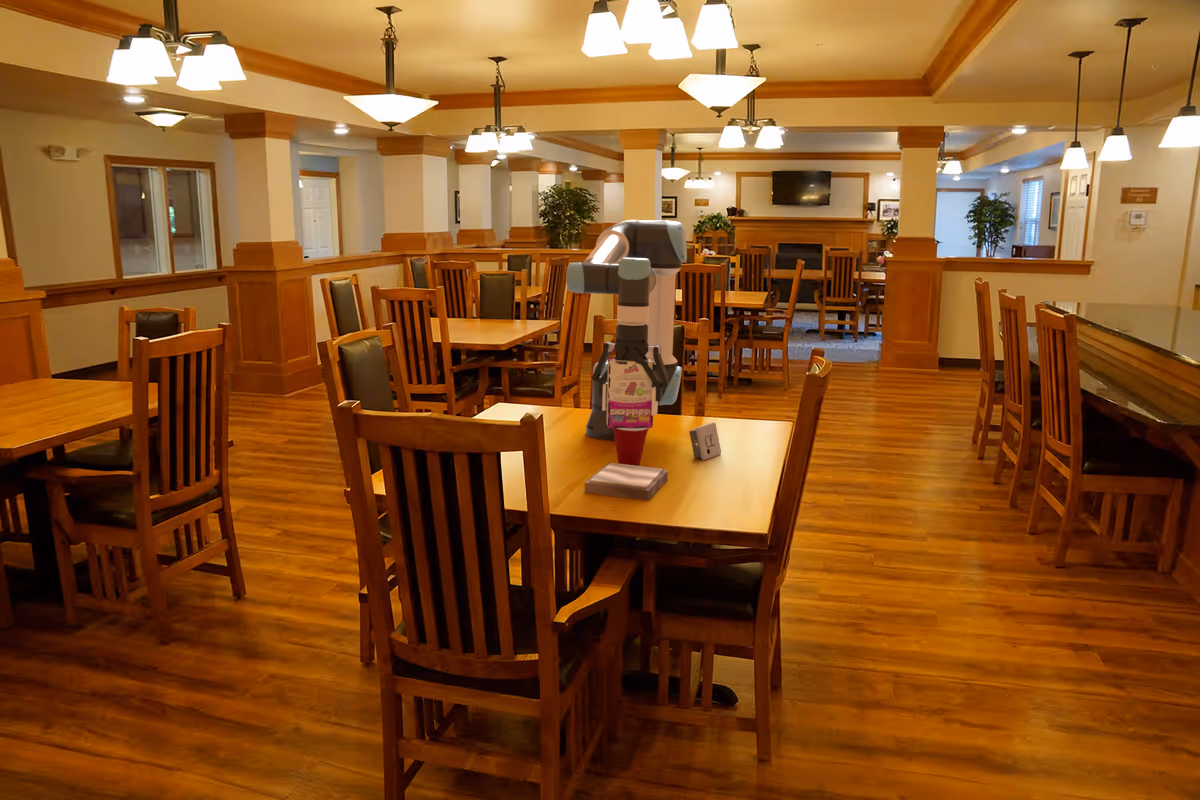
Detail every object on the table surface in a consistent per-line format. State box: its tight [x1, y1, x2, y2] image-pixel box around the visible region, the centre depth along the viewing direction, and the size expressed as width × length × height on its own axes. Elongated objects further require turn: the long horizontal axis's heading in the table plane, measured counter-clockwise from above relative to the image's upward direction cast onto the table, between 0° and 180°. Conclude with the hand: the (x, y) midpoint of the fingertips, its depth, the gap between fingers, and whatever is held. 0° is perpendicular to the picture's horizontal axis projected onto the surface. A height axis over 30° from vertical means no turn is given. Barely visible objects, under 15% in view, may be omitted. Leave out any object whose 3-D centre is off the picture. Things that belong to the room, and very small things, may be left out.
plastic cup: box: [613, 428, 650, 466], centre depth 229 cm, size 11×11×12 cm
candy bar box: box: [607, 358, 654, 429], centre depth 207 cm, size 11×5×16 cm, turn 95°
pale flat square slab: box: [584, 462, 669, 501], centre depth 211 cm, size 18×16×3 cm
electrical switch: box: [688, 422, 722, 461], centre depth 240 cm, size 9×5×9 cm, turn 141°
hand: (629, 412), depth 208 cm, fingers closed on candy bar box, 12 cm apart
